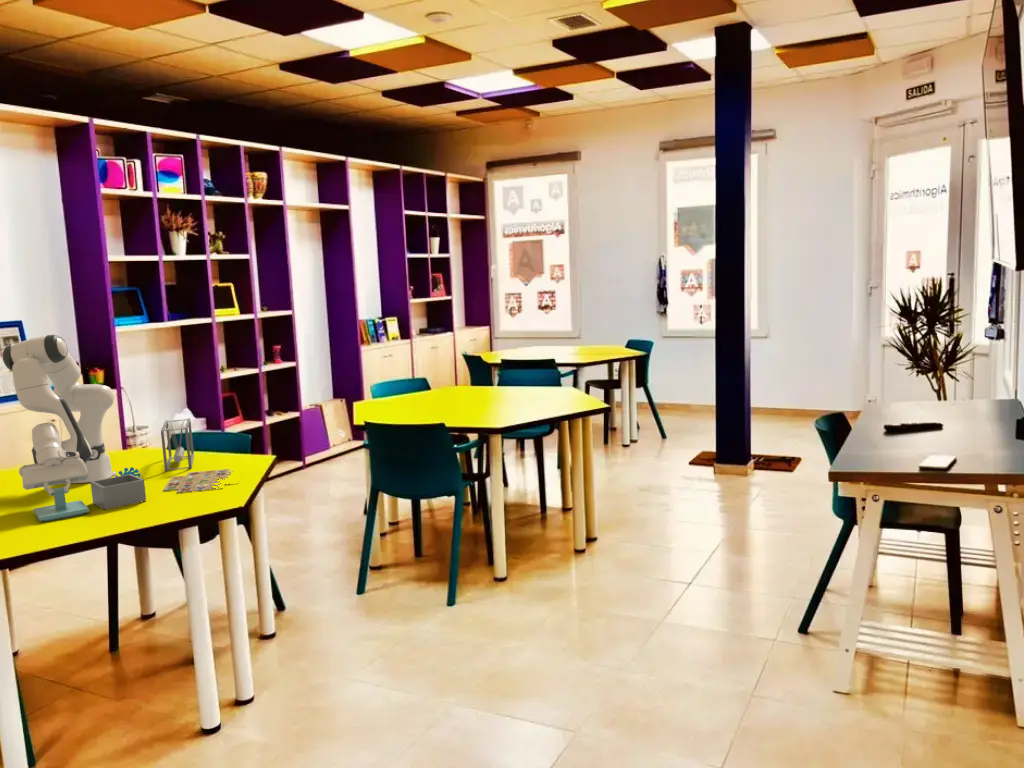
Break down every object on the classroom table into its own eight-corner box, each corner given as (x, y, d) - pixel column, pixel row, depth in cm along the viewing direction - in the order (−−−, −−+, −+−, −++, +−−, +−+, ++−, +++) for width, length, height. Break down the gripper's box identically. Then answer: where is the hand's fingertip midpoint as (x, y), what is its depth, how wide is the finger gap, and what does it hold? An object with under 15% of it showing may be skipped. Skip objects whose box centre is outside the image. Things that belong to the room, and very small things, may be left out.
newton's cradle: (191, 469, 356) (187, 427, 353) (164, 472, 352) (160, 430, 350) (194, 455, 384) (190, 417, 382) (169, 458, 381) (165, 419, 378)
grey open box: (92, 503, 307) (90, 481, 306) (133, 495, 316) (130, 474, 315) (105, 509, 296) (102, 487, 295) (146, 501, 306) (143, 479, 305)
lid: (34, 514, 295) (30, 489, 294) (81, 506, 304) (78, 481, 303) (40, 523, 283) (36, 497, 282) (89, 514, 292) (86, 488, 290)
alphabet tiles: (160, 496, 313) (160, 493, 313) (173, 476, 345) (173, 473, 345) (238, 488, 320) (238, 485, 320) (244, 469, 352) (244, 466, 352)
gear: (108, 487, 324) (119, 464, 330) (114, 494, 328) (125, 472, 334) (135, 490, 322) (146, 468, 328) (141, 498, 327) (152, 476, 333)
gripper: (17, 461, 290) (24, 493, 284) (83, 451, 302) (91, 482, 296) (17, 471, 295) (24, 504, 288) (82, 461, 306) (90, 492, 300)
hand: (59, 493), depth 292 cm, fingers open, 3 cm apart
